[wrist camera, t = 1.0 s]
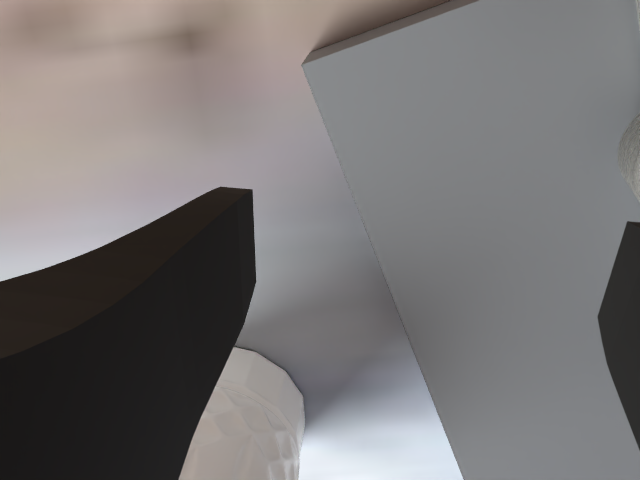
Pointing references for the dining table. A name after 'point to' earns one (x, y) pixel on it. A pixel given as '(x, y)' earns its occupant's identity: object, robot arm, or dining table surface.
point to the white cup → (248, 424)
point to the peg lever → (631, 148)
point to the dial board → (498, 215)
